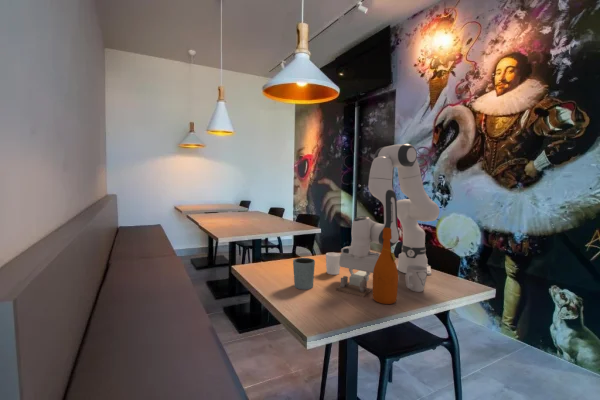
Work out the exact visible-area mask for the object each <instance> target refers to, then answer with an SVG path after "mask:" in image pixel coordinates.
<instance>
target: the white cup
mask: <svg viewBox="0 0 600 400" xmlns="http://www.w3.org/2000/svg"><path fill="white" fill-rule="evenodd" d="M340 255H341V253H340V252H334V251H333V252H326V253H325V268H326V274H328V275H332V276H334V275H335V276H336V275H339V274H340V272H341V271H340V270H341V267H340V265H339V259H340Z"/></svg>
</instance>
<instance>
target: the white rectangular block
mask: <svg viewBox="0 0 600 400" xmlns="http://www.w3.org/2000/svg"><path fill="white" fill-rule="evenodd" d="M366 275H367V274H366V271H360V270H357V272H354V274H353V275H351V274H350V275H349V277H348V278H349V280H348V281H349V283H348V284H351V285H355V286H360V282H362V280H364V276H366ZM369 280H370V275H369V276H368V280H367V282H369Z"/></svg>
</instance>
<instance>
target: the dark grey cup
mask: <svg viewBox="0 0 600 400" xmlns="http://www.w3.org/2000/svg"><path fill="white" fill-rule="evenodd" d="M292 265H293V269H292V270H293V281H294V282H293V283H294V284H293V285H294V288H295V289H298V290H311V289H313V288H314V282H315V281H314V280H315V279H314V278H315V276H314V275H315V265H316V260H315V259H314V258H310V257H309V258H308V257H297V258H294V259H292Z"/></svg>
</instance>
